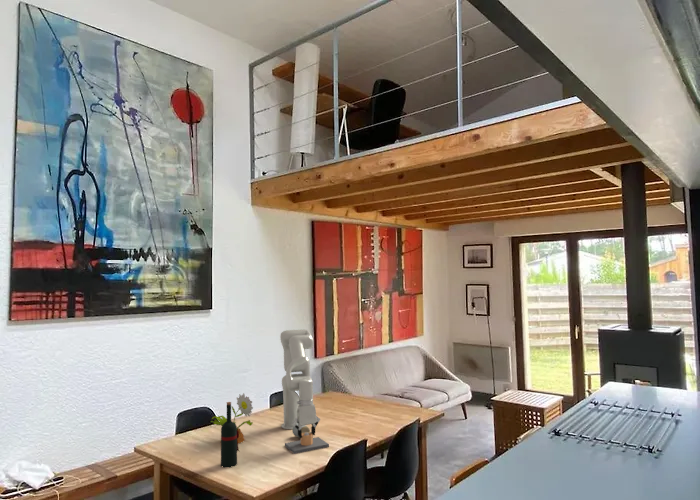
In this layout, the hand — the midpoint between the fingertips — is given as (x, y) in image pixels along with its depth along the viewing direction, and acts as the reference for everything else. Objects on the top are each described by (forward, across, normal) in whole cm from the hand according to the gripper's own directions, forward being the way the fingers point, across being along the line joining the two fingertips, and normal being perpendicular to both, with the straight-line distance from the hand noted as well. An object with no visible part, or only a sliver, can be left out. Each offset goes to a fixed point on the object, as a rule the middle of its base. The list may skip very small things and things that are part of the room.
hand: (306, 435), depth 260 cm
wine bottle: (+6, -42, -4) cm, 43 cm away
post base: (+6, 0, 0) cm, 6 cm away
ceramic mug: (+6, +5, +17) cm, 18 cm away
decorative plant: (+6, -34, +31) cm, 46 cm away
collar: (+4, 0, 0) cm, 4 cm away
